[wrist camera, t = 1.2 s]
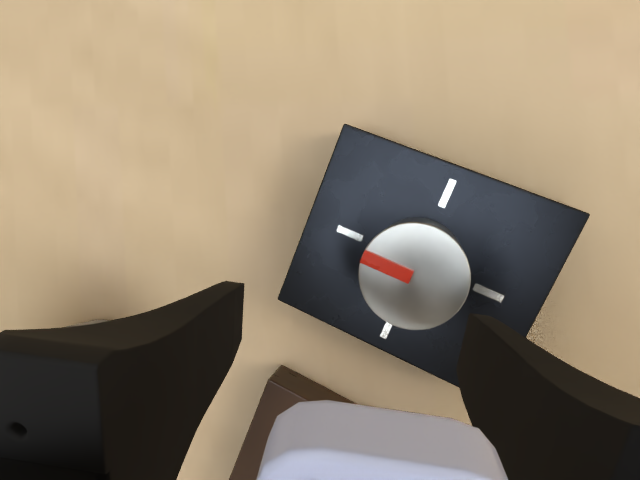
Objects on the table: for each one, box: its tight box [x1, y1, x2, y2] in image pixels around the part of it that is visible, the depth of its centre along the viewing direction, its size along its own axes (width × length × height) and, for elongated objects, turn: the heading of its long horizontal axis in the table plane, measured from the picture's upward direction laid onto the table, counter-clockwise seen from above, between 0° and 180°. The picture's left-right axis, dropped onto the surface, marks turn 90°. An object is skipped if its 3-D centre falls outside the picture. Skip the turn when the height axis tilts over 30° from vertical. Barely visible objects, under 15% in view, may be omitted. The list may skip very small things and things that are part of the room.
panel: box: [278, 124, 590, 388], centre depth 22 cm, size 12×10×3 cm
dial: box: [358, 217, 471, 330], centre depth 18 cm, size 4×4×4 cm
